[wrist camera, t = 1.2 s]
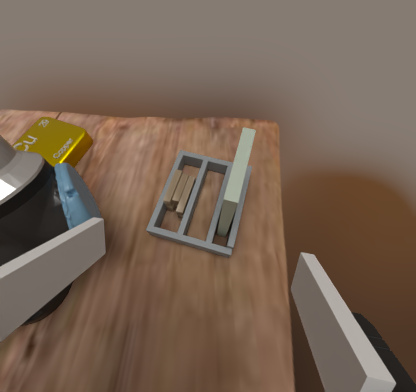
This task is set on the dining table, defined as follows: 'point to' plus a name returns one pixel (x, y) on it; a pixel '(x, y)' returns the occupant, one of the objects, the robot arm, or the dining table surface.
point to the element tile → (55, 141)
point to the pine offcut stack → (179, 192)
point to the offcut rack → (180, 236)
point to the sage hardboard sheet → (235, 181)
